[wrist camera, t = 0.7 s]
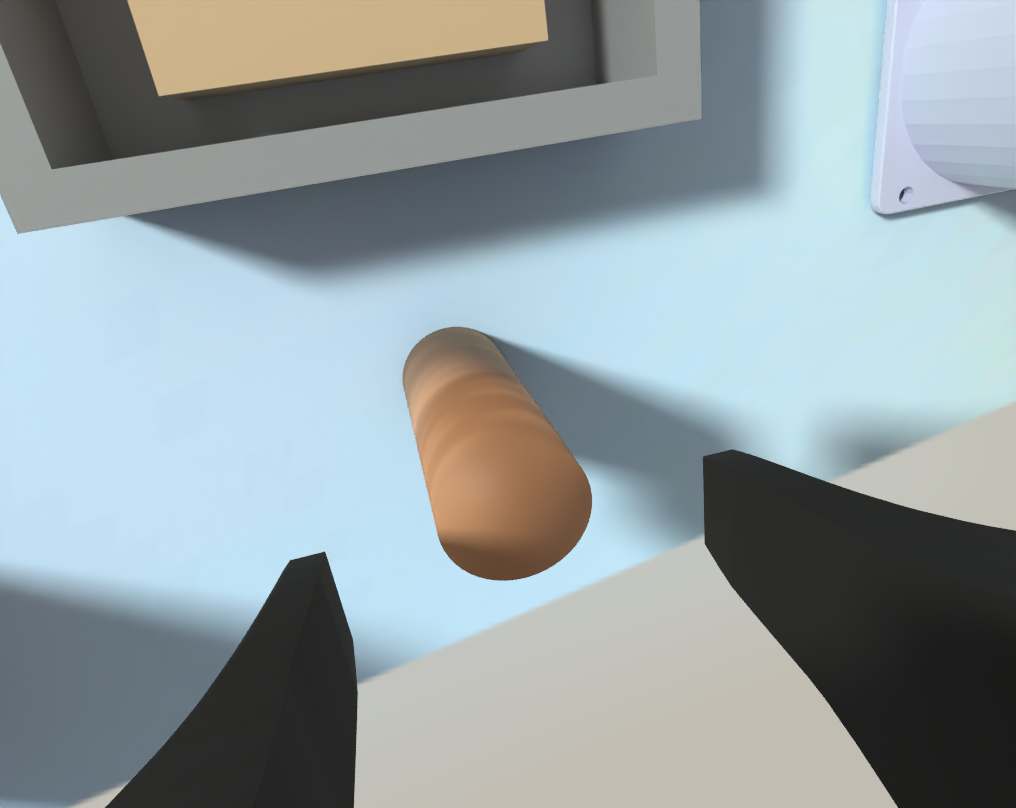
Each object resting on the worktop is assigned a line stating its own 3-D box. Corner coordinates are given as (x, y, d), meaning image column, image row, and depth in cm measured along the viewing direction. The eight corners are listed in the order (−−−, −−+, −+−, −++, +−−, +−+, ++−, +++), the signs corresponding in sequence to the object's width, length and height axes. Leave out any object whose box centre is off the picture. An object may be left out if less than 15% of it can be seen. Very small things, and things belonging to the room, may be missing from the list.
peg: (497, 317, 20) (584, 425, 13) (512, 412, 21) (598, 558, 14) (392, 338, 20) (422, 463, 12) (414, 434, 21) (451, 597, 14)
